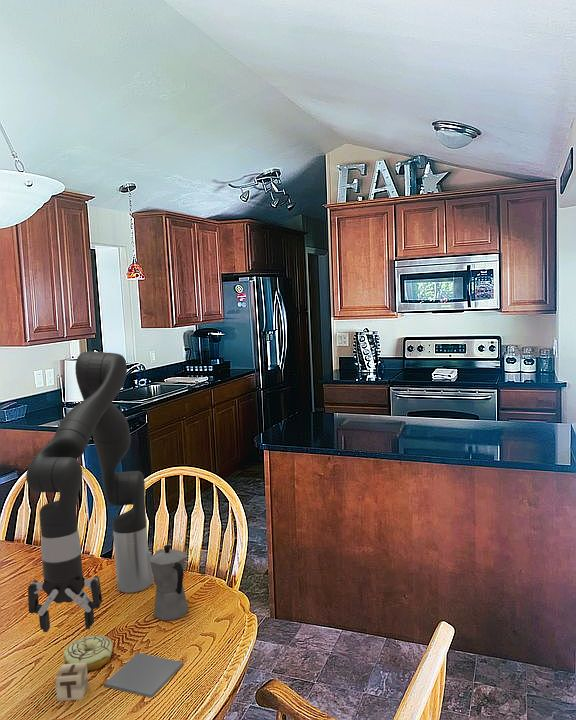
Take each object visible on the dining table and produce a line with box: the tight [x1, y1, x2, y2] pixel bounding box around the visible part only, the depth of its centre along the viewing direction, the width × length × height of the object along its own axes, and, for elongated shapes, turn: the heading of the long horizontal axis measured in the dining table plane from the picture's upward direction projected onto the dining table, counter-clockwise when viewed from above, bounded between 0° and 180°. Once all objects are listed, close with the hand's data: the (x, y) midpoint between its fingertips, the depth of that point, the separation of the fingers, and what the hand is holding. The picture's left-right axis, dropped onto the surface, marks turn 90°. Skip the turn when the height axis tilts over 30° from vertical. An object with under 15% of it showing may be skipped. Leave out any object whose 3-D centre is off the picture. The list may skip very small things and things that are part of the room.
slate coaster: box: [103, 652, 184, 699], centre depth 135 cm, size 12×12×1 cm
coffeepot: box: [150, 544, 189, 622], centre depth 160 cm, size 15×9×18 cm, turn 33°
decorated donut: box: [63, 634, 114, 672], centre depth 142 cm, size 10×11×4 cm
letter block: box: [54, 663, 89, 702], centre depth 130 cm, size 5×5×5 cm
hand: (67, 628), depth 129 cm, fingers open, 8 cm apart
